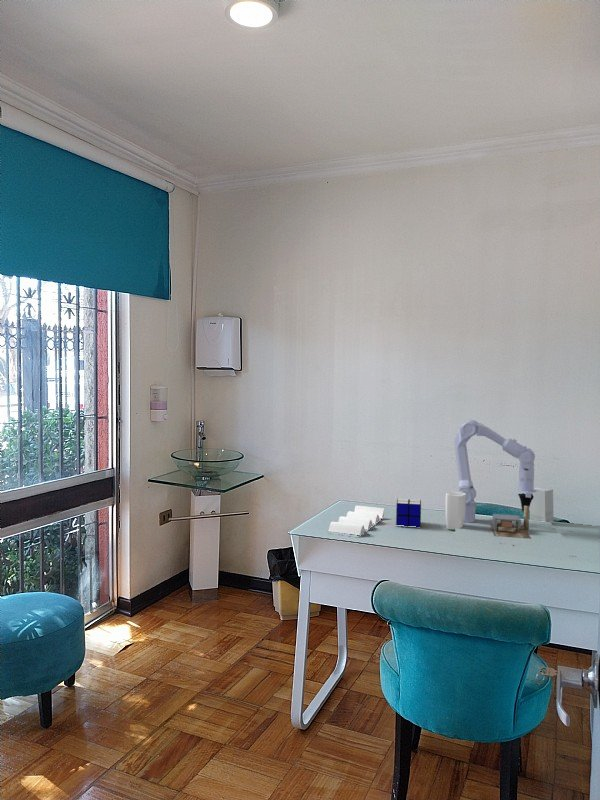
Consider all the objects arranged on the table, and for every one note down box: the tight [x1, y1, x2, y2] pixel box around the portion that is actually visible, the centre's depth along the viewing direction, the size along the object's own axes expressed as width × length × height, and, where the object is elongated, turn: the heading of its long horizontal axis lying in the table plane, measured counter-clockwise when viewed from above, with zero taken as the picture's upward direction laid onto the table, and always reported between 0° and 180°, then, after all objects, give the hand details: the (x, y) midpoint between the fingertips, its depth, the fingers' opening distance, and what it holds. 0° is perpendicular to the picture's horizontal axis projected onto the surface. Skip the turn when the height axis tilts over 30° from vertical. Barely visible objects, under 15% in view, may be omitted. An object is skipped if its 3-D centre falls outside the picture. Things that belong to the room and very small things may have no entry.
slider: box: [497, 506, 530, 532], centre depth 251 cm, size 12×8×9 cm, turn 78°
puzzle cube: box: [395, 498, 422, 528], centre depth 264 cm, size 10×10×10 cm
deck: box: [489, 523, 532, 540], centre depth 251 cm, size 14×20×2 cm
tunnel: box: [491, 513, 522, 532], centre depth 252 cm, size 10×8×5 cm
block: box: [500, 520, 513, 527], centre depth 252 cm, size 4×4×4 cm
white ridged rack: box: [328, 505, 385, 536], centre depth 261 cm, size 13×35×5 cm, turn 156°
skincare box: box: [529, 486, 554, 524], centre depth 271 cm, size 8×6×15 cm
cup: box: [445, 491, 466, 531], centre depth 257 cm, size 7×7×15 cm
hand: (525, 511), depth 257 cm, fingers closed
